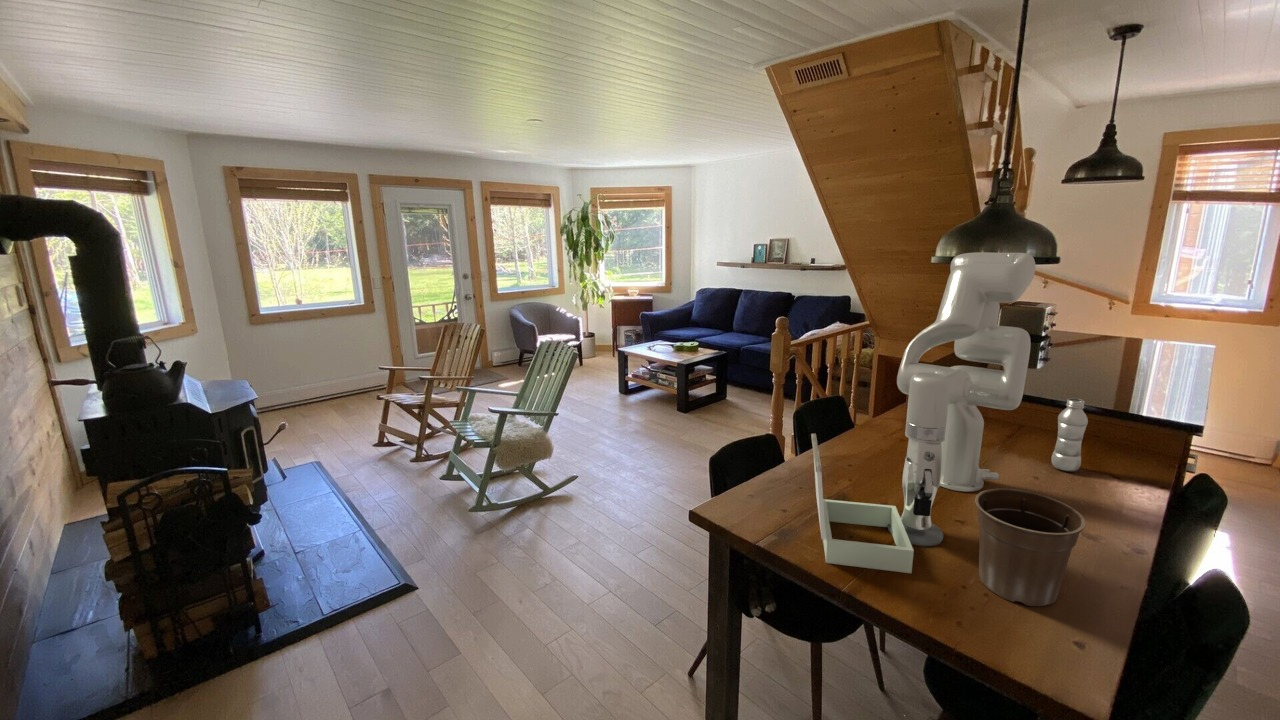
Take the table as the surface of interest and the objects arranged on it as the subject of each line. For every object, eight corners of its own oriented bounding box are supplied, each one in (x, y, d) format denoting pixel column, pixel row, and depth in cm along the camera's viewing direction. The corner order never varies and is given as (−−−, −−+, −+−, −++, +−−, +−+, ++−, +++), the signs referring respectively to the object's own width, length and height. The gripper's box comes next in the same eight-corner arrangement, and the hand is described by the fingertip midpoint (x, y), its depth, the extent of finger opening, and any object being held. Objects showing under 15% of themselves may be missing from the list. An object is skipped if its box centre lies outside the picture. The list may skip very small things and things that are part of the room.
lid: (815, 433, 121) (811, 433, 122) (821, 466, 104) (815, 466, 105) (820, 497, 124) (815, 497, 125) (825, 539, 108) (820, 539, 108)
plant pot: (1034, 627, 90) (1048, 542, 86) (946, 574, 104) (955, 499, 100) (1091, 599, 96) (1106, 519, 92) (1000, 552, 110) (1011, 481, 107)
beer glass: (925, 515, 121) (932, 454, 118) (939, 532, 114) (946, 467, 111) (893, 514, 122) (899, 454, 118) (905, 531, 115) (911, 467, 112)
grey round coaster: (935, 522, 122) (935, 519, 122) (949, 549, 112) (949, 545, 112) (883, 517, 125) (884, 514, 125) (892, 543, 115) (893, 539, 115)
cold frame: (893, 525, 122) (895, 505, 120) (911, 573, 105) (913, 550, 103) (820, 518, 126) (821, 499, 124) (825, 562, 109) (827, 541, 108)
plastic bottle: (1054, 472, 145) (1065, 402, 141) (1046, 462, 151) (1057, 395, 147) (1083, 475, 143) (1096, 405, 138) (1074, 465, 149) (1086, 397, 144)
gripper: (957, 447, 104) (947, 529, 108) (933, 418, 120) (926, 490, 124) (915, 444, 106) (907, 525, 110) (897, 416, 122) (891, 487, 126)
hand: (917, 506), depth 117 cm, fingers closed on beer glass, 6 cm apart
